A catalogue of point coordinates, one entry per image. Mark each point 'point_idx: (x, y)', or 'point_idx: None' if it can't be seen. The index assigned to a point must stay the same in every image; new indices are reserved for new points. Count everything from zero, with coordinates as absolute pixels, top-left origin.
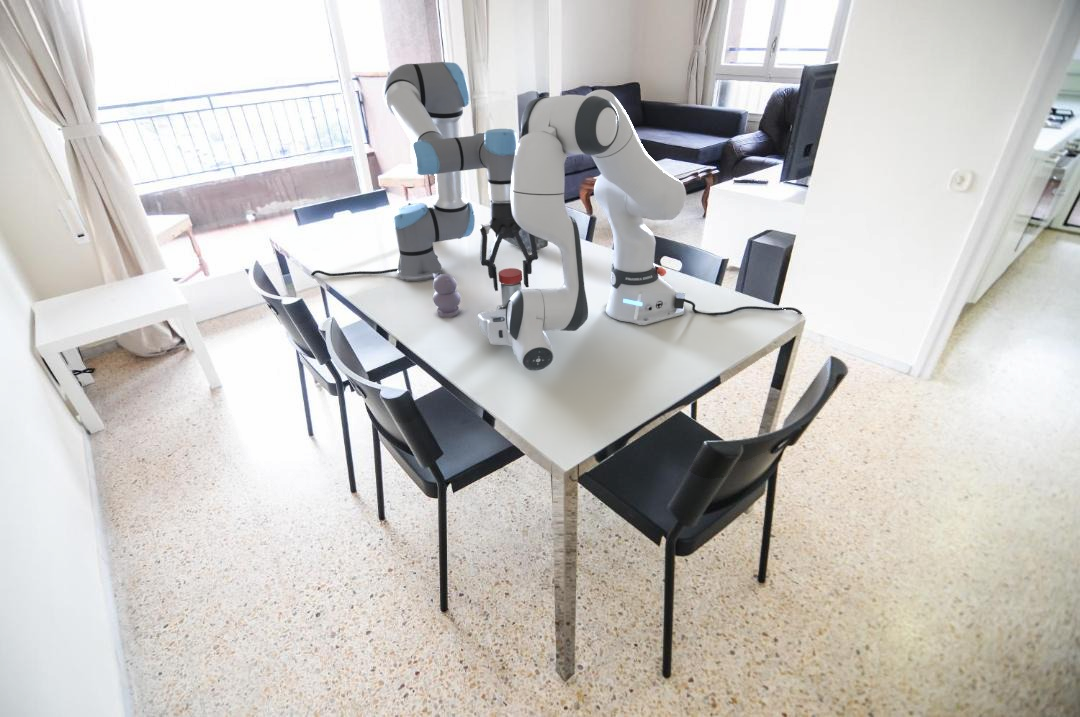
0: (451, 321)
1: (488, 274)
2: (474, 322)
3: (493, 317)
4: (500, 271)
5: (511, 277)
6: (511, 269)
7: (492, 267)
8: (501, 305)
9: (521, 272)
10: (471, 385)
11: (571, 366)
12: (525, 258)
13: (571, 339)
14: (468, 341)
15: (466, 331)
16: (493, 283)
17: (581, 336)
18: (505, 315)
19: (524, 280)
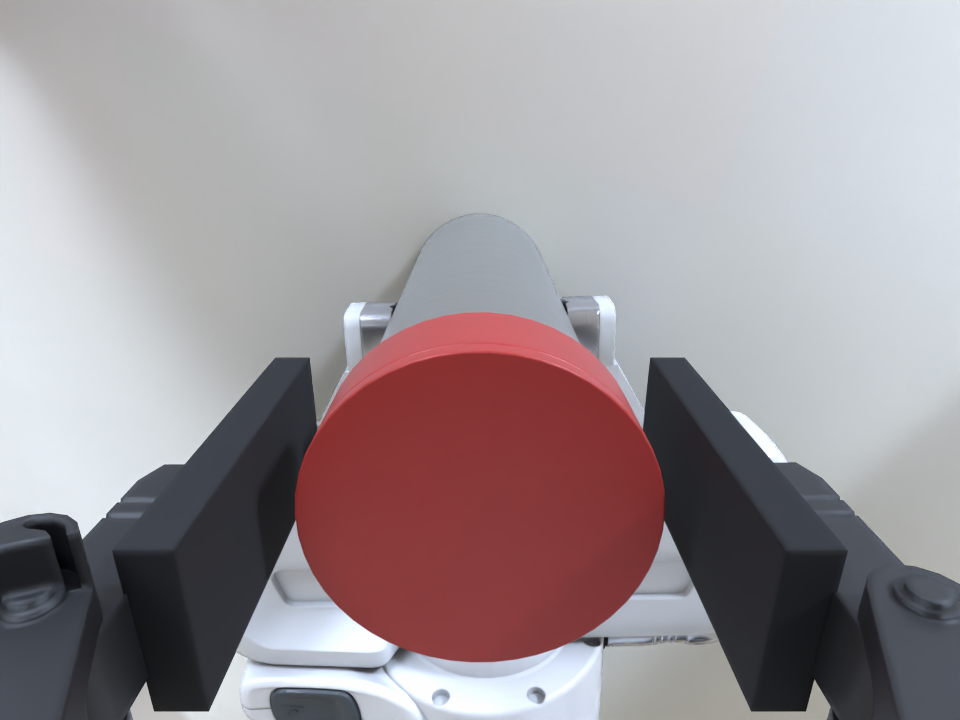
0: (14, 17)
1: (134, 484)
2: (204, 94)
3: (294, 566)
4: (331, 443)
5: (469, 658)
6: (525, 417)
7: (144, 666)
8: (381, 336)
9: (647, 566)
10: (220, 711)
11: (662, 691)
12: (862, 633)
13: None
14: (179, 360)
15: (154, 225)
16: (259, 381)
17: (835, 476)
18: (370, 695)
19: (661, 433)
